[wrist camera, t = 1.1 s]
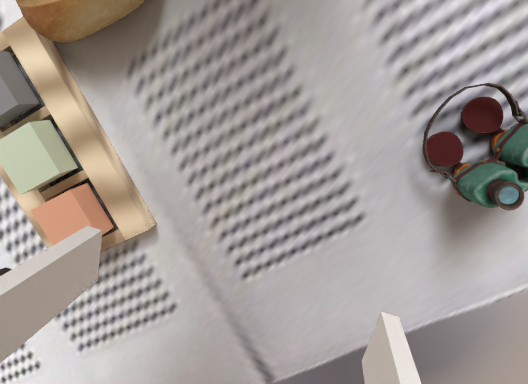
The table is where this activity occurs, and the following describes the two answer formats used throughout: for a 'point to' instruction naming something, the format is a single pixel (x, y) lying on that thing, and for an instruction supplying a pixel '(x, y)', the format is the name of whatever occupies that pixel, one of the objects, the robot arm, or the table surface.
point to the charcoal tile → (13, 90)
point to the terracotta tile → (71, 214)
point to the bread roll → (73, 16)
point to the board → (72, 138)
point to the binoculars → (485, 172)
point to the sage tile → (35, 156)
